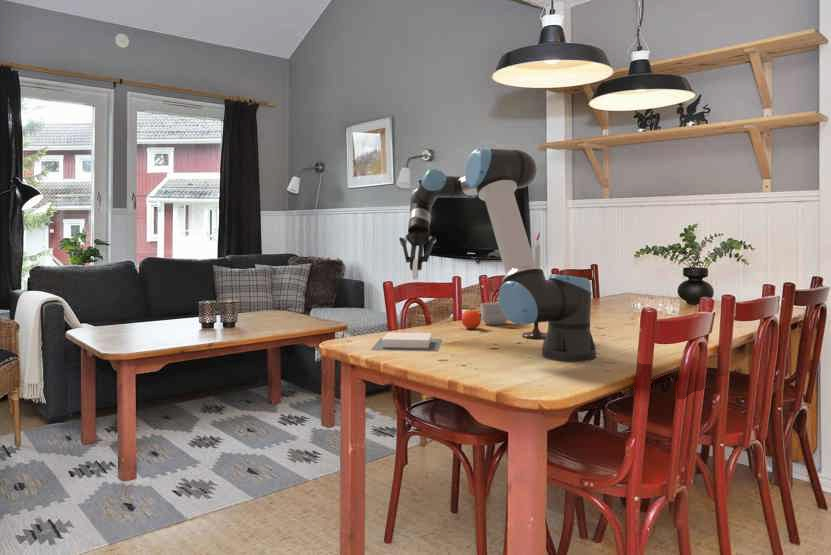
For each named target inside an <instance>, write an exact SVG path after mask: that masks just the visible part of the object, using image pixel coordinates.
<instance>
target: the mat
mask: <svg viewBox="0 0 831 555" xmlns="http://www.w3.org/2000/svg"><path fill="white" fill-rule="evenodd" d="M382 339H383V337H380V338H379V340H378V341H377V342H376V343H375V344H374V345H373V346H372V347H371V349H370V351H390V352H391V351H394V352H395V351H396V352H397V351H401V352H439V349H440V346H441V344H442V341H443V339H442V338H432V341H431V344H430V346H429V348H428V349H405V348H383V347H382Z"/></svg>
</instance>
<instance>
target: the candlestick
mask: <svg viewBox="0 0 831 555" xmlns="http://www.w3.org/2000/svg"><path fill="white" fill-rule="evenodd" d="M540 235H541V232H540V231H539V233H538V234H537V236H536V243H535V245H534V247H533V248H534V250H533V251H534V252H533V259H534V262H535V265H536V267H538V268H541V244H540V243H539V239H540ZM539 323H541V322H538V323H533V329H532V331H527V332H522V334H521V337H522V338H524V339H526V340H545V337H546V334H547V332H543V331H541V330H540V329H539Z"/></svg>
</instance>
